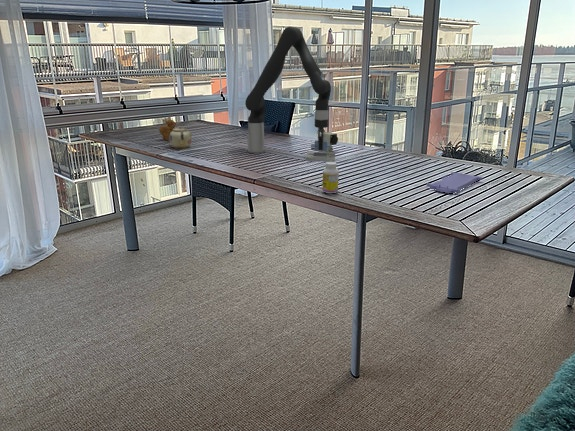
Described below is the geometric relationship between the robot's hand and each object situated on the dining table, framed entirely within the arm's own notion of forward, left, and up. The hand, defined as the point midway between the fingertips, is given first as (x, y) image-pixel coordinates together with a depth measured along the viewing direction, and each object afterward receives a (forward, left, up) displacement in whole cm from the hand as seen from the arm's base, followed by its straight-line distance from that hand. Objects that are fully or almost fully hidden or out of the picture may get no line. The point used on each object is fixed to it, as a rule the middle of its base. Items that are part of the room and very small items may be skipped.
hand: (320, 148), depth 260 cm
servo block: (0, 0, -1) cm, 1 cm away
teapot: (-87, +18, -5) cm, 89 cm away
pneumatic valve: (+4, +19, -5) cm, 20 cm away
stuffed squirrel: (-103, +41, -5) cm, 111 cm away
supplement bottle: (+8, -66, -5) cm, 67 cm away
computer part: (+63, -49, -6) cm, 80 cm away
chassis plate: (0, 0, -5) cm, 5 cm away
